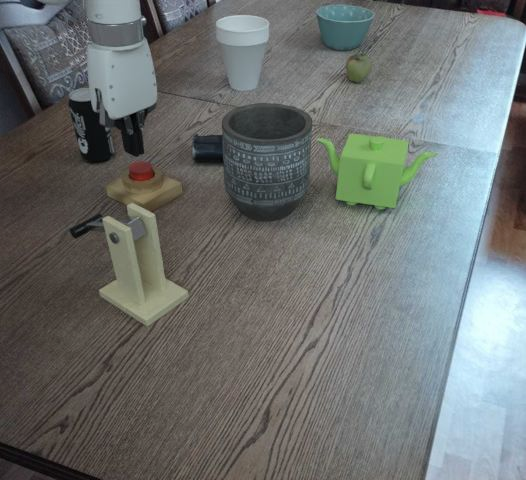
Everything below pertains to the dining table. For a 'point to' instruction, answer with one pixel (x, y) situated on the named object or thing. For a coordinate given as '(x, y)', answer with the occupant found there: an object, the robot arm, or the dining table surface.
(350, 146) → the teapot
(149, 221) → the switch bracket
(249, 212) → the planter
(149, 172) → the button
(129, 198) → the button block
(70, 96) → the beverage can
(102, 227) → the switch lever
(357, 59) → the apple
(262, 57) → the cup
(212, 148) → the electronic device
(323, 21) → the bowl
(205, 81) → the dining table surface
